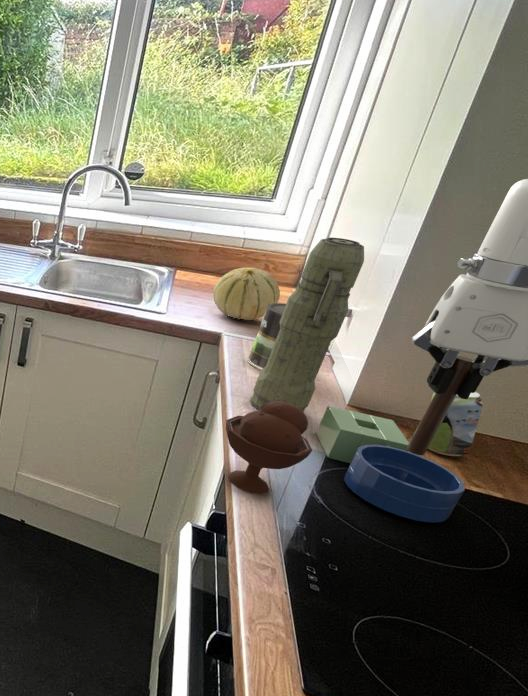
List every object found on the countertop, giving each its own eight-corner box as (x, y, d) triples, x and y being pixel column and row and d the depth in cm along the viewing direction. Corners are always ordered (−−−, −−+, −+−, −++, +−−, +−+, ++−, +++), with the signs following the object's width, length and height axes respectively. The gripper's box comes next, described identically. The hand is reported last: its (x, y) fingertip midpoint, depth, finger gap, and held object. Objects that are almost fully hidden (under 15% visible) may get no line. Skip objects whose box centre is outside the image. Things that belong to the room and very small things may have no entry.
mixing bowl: (429, 490, 95) (445, 459, 93) (460, 537, 85) (480, 504, 83) (334, 465, 100) (348, 436, 98) (353, 507, 90) (369, 475, 88)
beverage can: (464, 465, 101) (498, 406, 97) (407, 446, 107) (436, 389, 102) (466, 452, 105) (499, 395, 101) (411, 434, 110) (439, 378, 106)
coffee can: (242, 365, 135) (263, 309, 130) (252, 353, 142) (271, 299, 137) (297, 382, 129) (321, 324, 123) (304, 368, 136) (327, 312, 130)
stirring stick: (421, 450, 90) (471, 357, 83) (426, 457, 88) (477, 363, 82) (404, 446, 90) (452, 354, 84) (408, 452, 89) (458, 359, 83)
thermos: (295, 400, 121) (363, 237, 108) (310, 428, 111) (387, 252, 98) (244, 389, 125) (304, 230, 111) (254, 415, 115) (321, 244, 101)
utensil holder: (379, 448, 106) (393, 420, 103) (396, 475, 98) (411, 445, 96) (315, 432, 110) (327, 405, 107) (327, 457, 102) (340, 429, 100)
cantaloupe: (266, 316, 166) (285, 266, 161) (271, 332, 155) (292, 279, 149) (206, 304, 173) (221, 256, 168) (206, 319, 162) (223, 268, 156)
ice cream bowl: (216, 454, 102) (244, 379, 96) (295, 485, 95) (330, 406, 89) (200, 480, 95) (229, 401, 89) (284, 516, 88) (321, 432, 82)
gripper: (442, 269, 78) (384, 388, 86) (615, 293, 72) (537, 420, 79) (421, 256, 85) (369, 368, 92) (579, 277, 78) (509, 396, 85)
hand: (447, 391), depth 85 cm, fingers closed on stirring stick, 2 cm apart
